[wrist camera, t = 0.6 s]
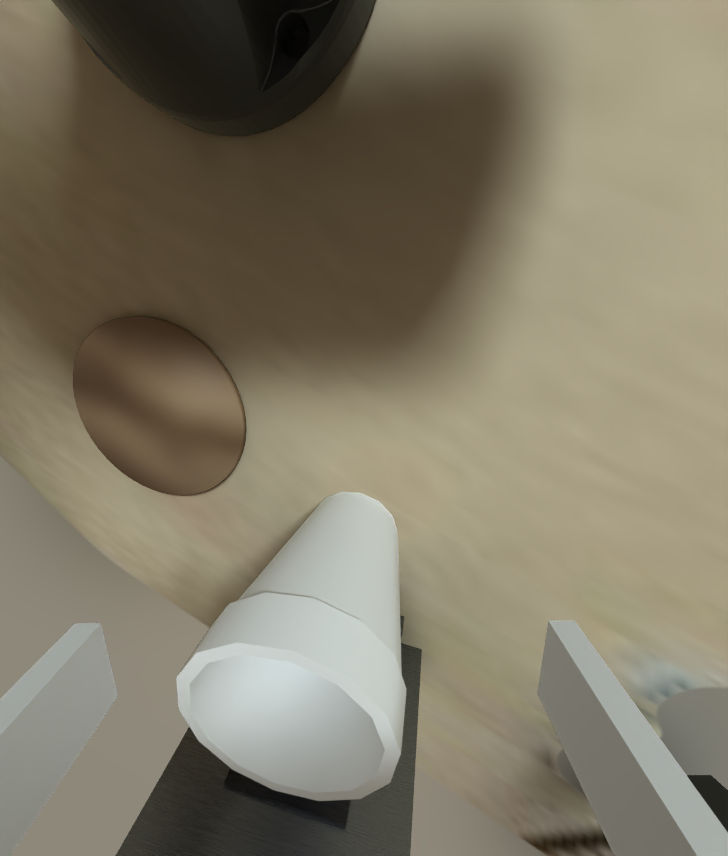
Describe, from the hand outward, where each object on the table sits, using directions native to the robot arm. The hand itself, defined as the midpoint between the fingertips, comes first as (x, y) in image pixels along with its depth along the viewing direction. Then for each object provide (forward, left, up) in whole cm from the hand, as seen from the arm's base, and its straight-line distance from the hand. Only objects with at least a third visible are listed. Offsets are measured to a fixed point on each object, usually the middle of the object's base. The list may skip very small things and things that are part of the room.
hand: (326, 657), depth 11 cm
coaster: (0, -16, -14) cm, 22 cm away
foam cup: (+6, -2, -14) cm, 16 cm away
